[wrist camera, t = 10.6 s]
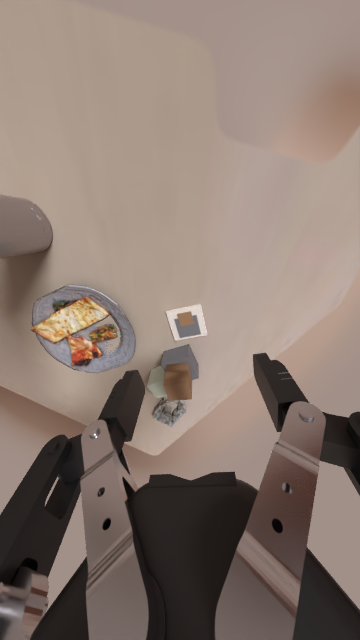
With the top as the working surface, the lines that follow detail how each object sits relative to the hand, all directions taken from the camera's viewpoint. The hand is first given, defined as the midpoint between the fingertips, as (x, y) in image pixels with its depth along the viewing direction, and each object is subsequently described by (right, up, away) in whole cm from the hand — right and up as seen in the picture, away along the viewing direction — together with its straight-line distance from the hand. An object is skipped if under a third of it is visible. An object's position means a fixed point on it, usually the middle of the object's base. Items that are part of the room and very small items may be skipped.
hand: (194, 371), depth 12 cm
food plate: (-24, +1, +33) cm, 41 cm away
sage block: (-6, -11, +37) cm, 39 cm away
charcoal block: (-1, -6, +34) cm, 35 cm away
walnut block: (-1, -9, +30) cm, 31 cm away
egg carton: (-4, -23, +44) cm, 49 cm away
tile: (+1, +3, +29) cm, 29 cm away
